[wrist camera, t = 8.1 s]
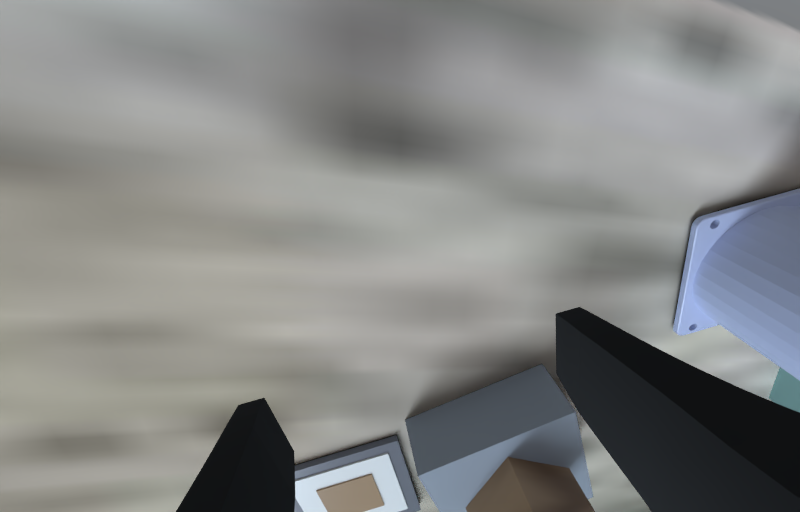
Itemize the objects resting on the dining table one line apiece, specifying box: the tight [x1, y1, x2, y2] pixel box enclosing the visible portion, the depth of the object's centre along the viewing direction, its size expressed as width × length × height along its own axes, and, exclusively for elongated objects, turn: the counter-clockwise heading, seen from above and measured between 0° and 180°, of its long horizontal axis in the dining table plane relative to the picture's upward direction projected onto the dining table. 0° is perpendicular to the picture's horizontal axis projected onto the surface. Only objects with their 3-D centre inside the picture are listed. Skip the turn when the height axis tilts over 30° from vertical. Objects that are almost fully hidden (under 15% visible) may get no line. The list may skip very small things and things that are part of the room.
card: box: [294, 435, 421, 512], centre depth 26 cm, size 8×8×1 cm
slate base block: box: [405, 364, 593, 512], centre depth 25 cm, size 9×9×4 cm
